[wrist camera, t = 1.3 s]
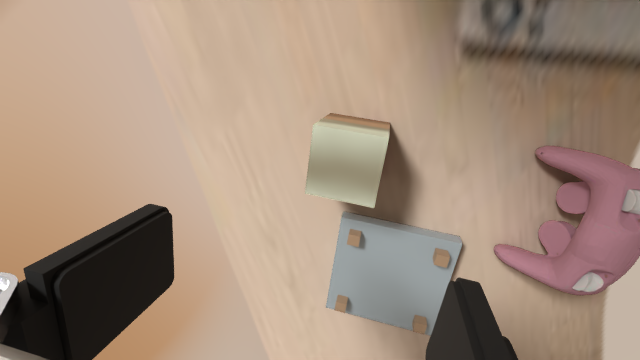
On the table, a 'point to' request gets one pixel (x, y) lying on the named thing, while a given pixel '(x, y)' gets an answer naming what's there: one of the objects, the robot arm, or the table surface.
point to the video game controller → (585, 225)
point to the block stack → (347, 159)
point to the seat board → (391, 272)
